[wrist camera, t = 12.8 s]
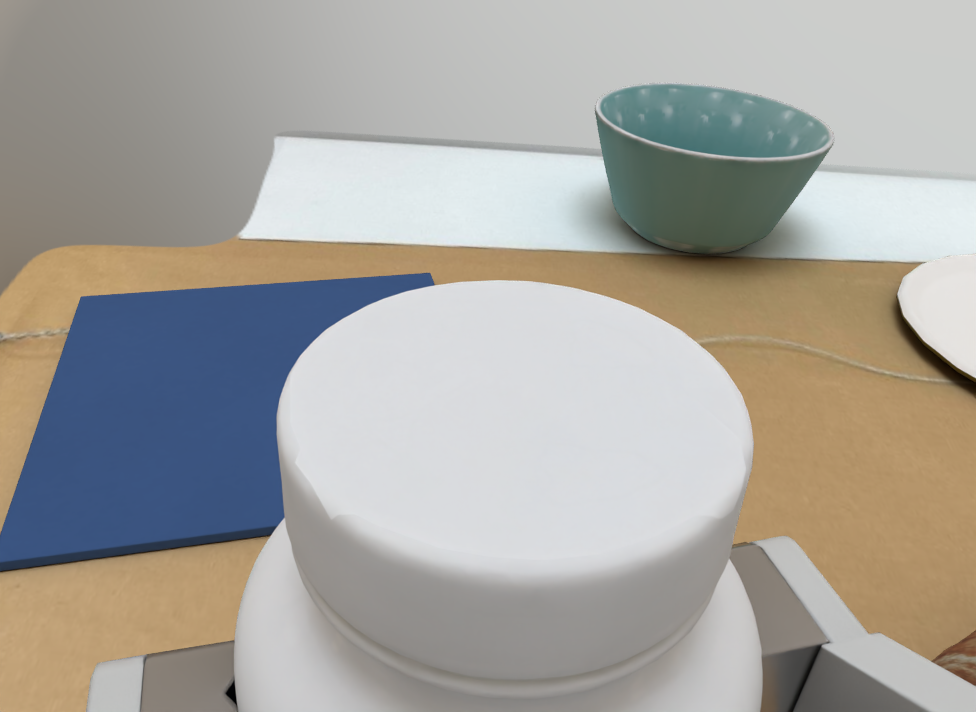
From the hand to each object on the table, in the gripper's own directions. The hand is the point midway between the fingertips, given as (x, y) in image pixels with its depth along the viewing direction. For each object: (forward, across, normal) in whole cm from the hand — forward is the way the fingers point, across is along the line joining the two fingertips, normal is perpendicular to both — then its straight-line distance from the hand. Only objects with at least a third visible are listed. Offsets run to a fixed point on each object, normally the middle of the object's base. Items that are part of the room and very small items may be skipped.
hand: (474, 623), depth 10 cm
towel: (+28, -3, -16) cm, 32 cm away
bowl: (+42, +28, -16) cm, 53 cm away
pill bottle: (-1, 0, -6) cm, 6 cm away
